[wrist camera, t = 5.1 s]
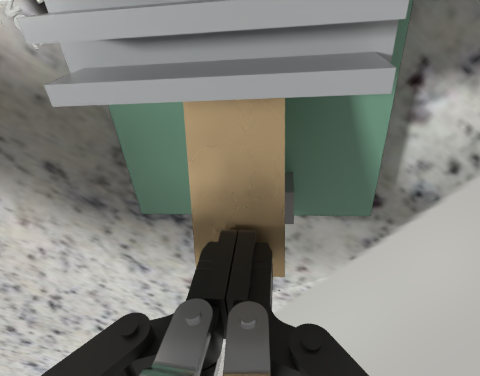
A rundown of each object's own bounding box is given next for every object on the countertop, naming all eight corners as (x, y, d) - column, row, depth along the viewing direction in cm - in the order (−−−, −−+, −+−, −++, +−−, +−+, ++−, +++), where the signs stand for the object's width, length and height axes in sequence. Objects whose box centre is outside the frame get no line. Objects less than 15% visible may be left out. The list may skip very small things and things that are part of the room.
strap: (284, 267, 14) (284, 276, 14) (200, 265, 15) (196, 273, 14) (284, 88, 12) (284, 86, 12) (188, 92, 13) (182, 91, 12)
